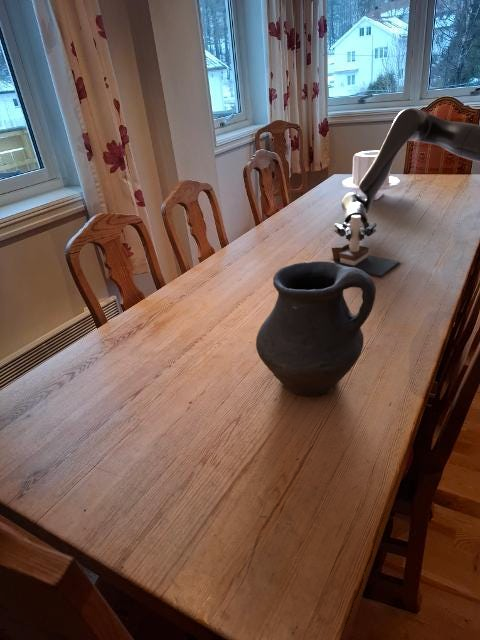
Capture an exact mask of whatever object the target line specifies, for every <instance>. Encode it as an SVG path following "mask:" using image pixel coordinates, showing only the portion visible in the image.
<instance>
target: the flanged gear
mask: <svg viewBox="0 0 480 640" xmlns="http://www.w3.org/2000/svg"><path fill="white" fill-rule="evenodd" d="M379 151H380V150H365V151H360V152H357V153H354V155H353V156H352V177H348V178H346V179H344V180H343V181H342V187H343V188H344V189H347V190H352V191H355V194H357V195H359V196H360V197H362V198H364V199H366V198H367V197H366V195H365V194H364V193H363V192H362V191H361V190H360V189H359V184H360V182H361V180H362V179H363V177H364V176H365V174H366V173H367V171H368V170H369V168H370V167H371V165H372V164H373V162H374V160H375V159H376V157H377V155H378V153H379ZM398 186H400V179H399V178H398V177H395V176H391V172H390V173H389V175H388V177H387V179H386V180H385V182H384V183H383V185H382V186H381V188H380V189H379V190H378V192H377V194H376V195H375V197H374V199H373V201H375V200H378V199H379V198H381V197H382V196H383V195H384V191H386V190H391V189H394V188H397V187H398Z"/></svg>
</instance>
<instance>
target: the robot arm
mask: <svg viewBox="0 0 480 640" xmlns="http://www.w3.org/2000/svg"><path fill="white" fill-rule="evenodd" d="M408 141H409V142H420V143H426V144H430V145H434V146H437V147H441V148H443V150H445V151H448V152H450V153H451V154H452V155H455V156H458V157H461V158H462V159H466V160H469V161H473V162H477V163H480V124H474V123H469V122H464V121H463V122H461V121H449V120H447V119H443V118H440V117H438V116H436V115H433V114H431V113H428V112H426V111H425V110H422V109H418V108H413V107H412V108H411V107H410V108H405V109H403V110H401V111H400V112H399V113H398V114H397V116H396V117H395V118H394V120H393V123H392V124H391V127H390V129H389V131H388V133H387V135H386V137H385V139H384V141H383V143H382V145H381V148H380V149H379V150H378V151H379V153H378V155H377V157H376V159H375V160H374V162H373V164H372V165H371V167H370V168H369V170H368V171H367V173H366V174H365V176H364V177H363V179H362V180H361V182H360V184H359V189H360V190H361V191H362V192H363V193H364V194H365V195H366V197H367V198H366V199H364V198H362V197H360V196H359V195H357V194H356V192H348V193H346V194H345V195H344V197H343V198H342V201H341V205H340V208H341V211H342V212H343V214H344V216H343V217H344V218H343V223H342V224H339V223H337V222H336V223H334V232H335V233H336V235H338V236H340V237H345V239H346V240H347V241H348V242H350V236H351V216H352V215H360V216H361V221H360V241H359V242H361V241H363V240H364V239H365V236H366V237H371V236H372V235H374V233H376V232H377V229H378V223H377V222H373V223H369V222H368V214H369V213H370V210H371V208H372V204H373V202H374V197H375V195H376V194H377V192H378V190H379V189H380V188H381V186H382V185H383V183H384V182H385V180H386V179H387V177H388V175H389V173H390V174H391V171H392V167H393V166H394V161H395V159H396V157H397V155H398V154H399V152H400V151H401V150H402V148H403V147H404V145H406V143H407V142H408Z"/></svg>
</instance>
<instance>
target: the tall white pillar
mask: <svg viewBox="0 0 480 640" xmlns="http://www.w3.org/2000/svg"><path fill="white" fill-rule="evenodd" d="M360 221H361V216H360V215H352V216H351V236H350V241H349V248H347V249H346V250H344V251H342V252H341V253H340V260H339V261H340V262H341V263H345V264H349V265H356V264H358V263H359V262H361V261H362V260H364V259H365V258H367V257H368V255H369V253H370V247H367V246H363V245H360V242H361V241H360Z"/></svg>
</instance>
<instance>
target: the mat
mask: <svg viewBox="0 0 480 640" xmlns="http://www.w3.org/2000/svg"><path fill="white" fill-rule="evenodd" d="M335 263H336V264H339V265H342V266H346V267H353V268H357V269H360V270H363V271H364V272H366V273H367V274H368V275H369V276H375V277H378V278H381V277H383V276H384V275H386V274H387V273H389V272H390V271H391V270H393V269H394V268H395V267H397V266H398V265H399V264H400V261H399V260H398V261H397V260H393V259H388V258H384V257H379V256H374V255H371V254H370V255H369V254H368V257H367V258H365V259H364V260H362V261H361V262H359V263H358V264H356V265H349V264H345V263H341V262H340V260H338V261H336V262H335Z"/></svg>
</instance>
